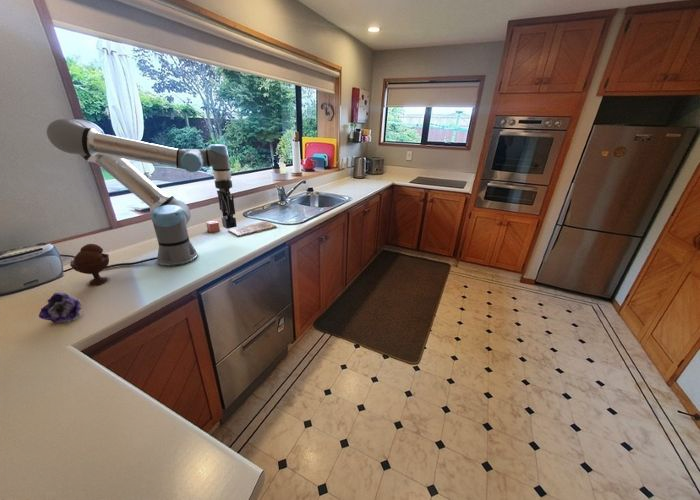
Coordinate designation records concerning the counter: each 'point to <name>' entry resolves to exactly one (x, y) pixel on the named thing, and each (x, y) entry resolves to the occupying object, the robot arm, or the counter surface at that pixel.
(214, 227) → the orange block
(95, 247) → the ice cream bowl
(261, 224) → the word board
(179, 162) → the robot arm
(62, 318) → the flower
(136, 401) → the counter surface
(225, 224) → the dark grey cube
